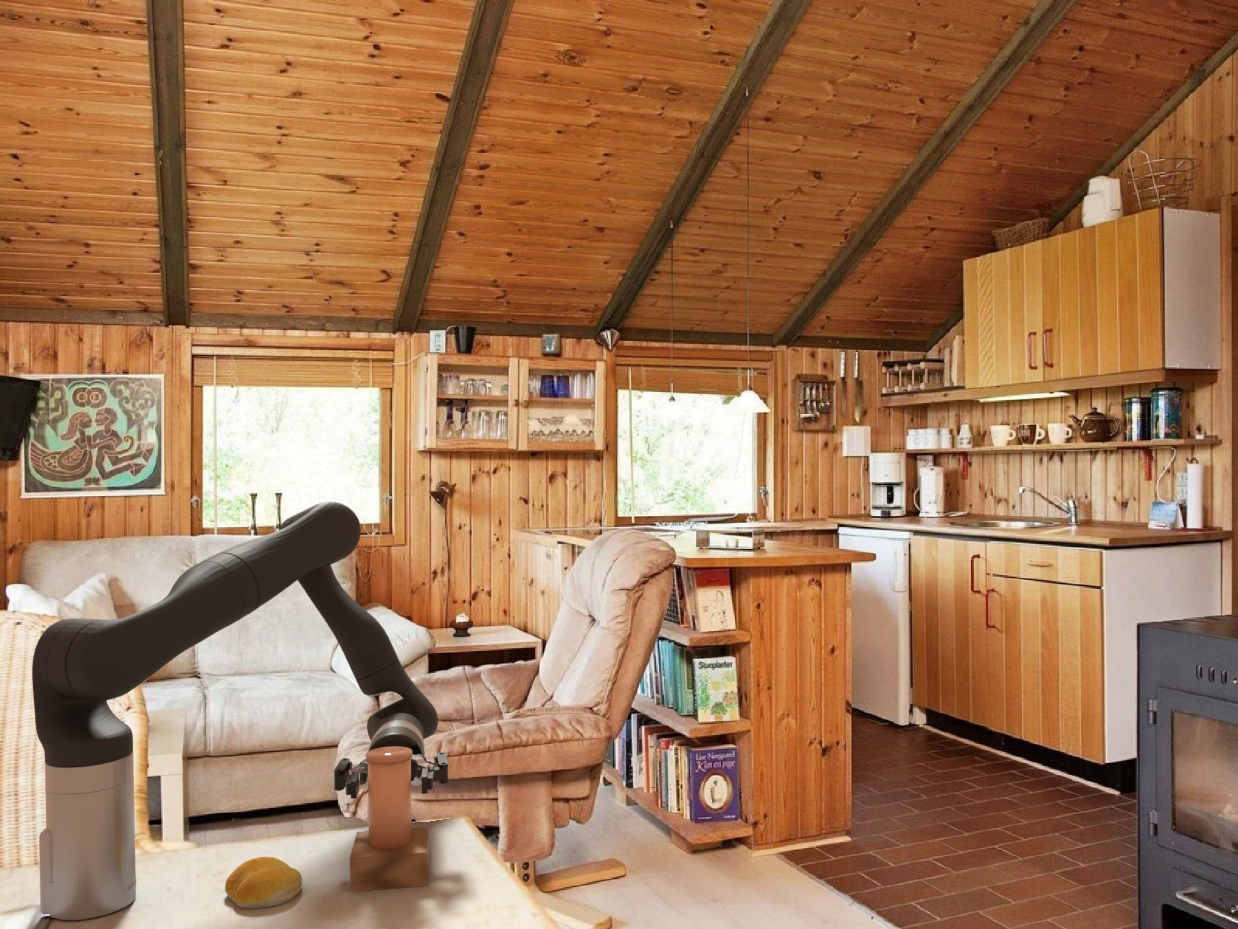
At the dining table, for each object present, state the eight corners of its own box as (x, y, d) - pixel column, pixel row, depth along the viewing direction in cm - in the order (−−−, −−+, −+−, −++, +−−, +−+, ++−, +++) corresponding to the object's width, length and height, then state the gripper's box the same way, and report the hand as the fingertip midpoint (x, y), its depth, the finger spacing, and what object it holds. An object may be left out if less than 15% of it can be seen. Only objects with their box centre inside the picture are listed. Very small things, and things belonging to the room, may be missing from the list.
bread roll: (246, 918, 118) (245, 882, 118) (217, 894, 124) (216, 861, 124) (315, 897, 123) (314, 863, 123) (284, 875, 130) (283, 843, 130)
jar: (365, 851, 126) (364, 760, 126) (369, 835, 131) (367, 747, 131) (412, 848, 127) (411, 757, 127) (414, 832, 132) (413, 745, 132)
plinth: (350, 892, 124) (349, 858, 124) (357, 863, 133) (356, 832, 133) (427, 885, 125) (426, 852, 125) (429, 858, 134) (428, 827, 134)
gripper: (342, 728, 143) (328, 761, 127) (448, 722, 145) (447, 754, 129) (344, 783, 143) (330, 823, 127) (449, 776, 145) (448, 814, 129)
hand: (389, 788), depth 128 cm, fingers open, 8 cm apart
